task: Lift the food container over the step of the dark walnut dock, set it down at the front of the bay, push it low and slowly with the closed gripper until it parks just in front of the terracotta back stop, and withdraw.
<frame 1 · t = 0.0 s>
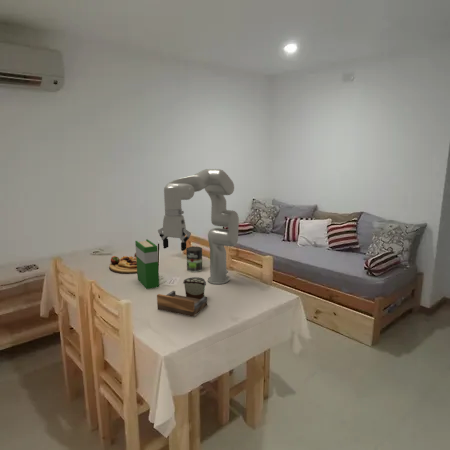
hand: (174, 248, 168), 31 cm above the table, tool pointing down, fingers open, 9 cm apart
coffee can: (194, 269, 234), on the table
wooden plate with food: (134, 266, 243), on the table
hardback book: (148, 283, 212), on the table
food container: (196, 297, 191), on the table
dock: (182, 307, 179), on the table
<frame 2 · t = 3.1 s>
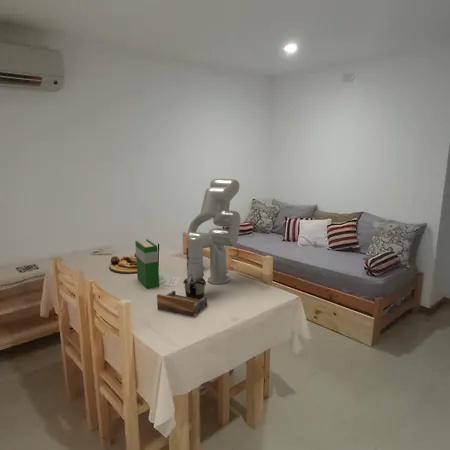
hand: (196, 292, 190), 3 cm above the table, tool pointing down, fingers open, 6 cm apart
food container: (196, 297, 191), on the table, touching gripper
everything else where it was.
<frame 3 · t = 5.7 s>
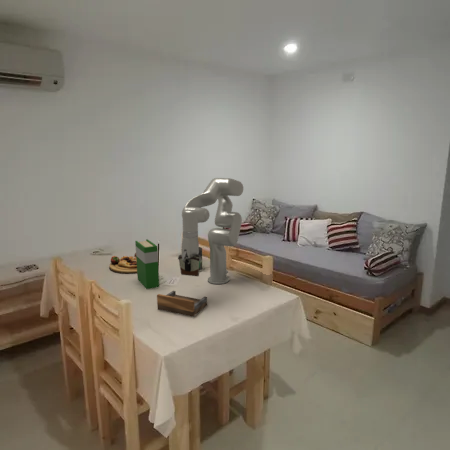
hand: (191, 268, 183), 17 cm above the table, tool pointing down, fingers closed on food container, 5 cm apart
food container: (192, 273, 184), point 14 cm above the table, touching gripper
everything else where it was.
when the fingers open (7 cm above the table, at t = 8.3 s): food container drops 1 cm, resting on dock.
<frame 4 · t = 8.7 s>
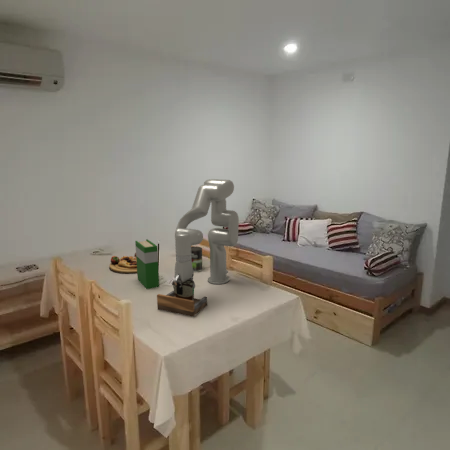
hand: (184, 290, 179), 8 cm above the table, tool pointing down, fingers open, 9 cm apart
food container: (187, 298, 182), point 3 cm above the table, touching dock, gripper
everything else where it was.
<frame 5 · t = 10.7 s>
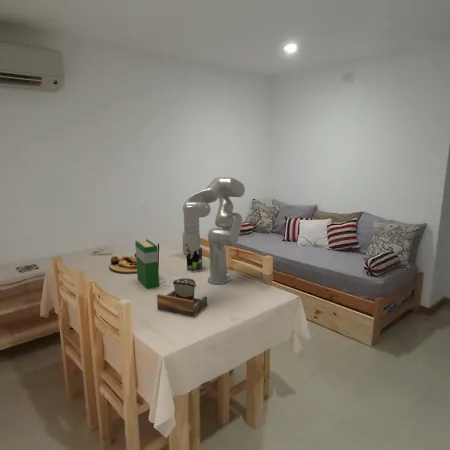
hand: (192, 263, 184), 19 cm above the table, tool pointing down, fingers open, 5 cm apart
food container: (187, 299, 182), point 2 cm above the table, touching dock
everything else where it was.
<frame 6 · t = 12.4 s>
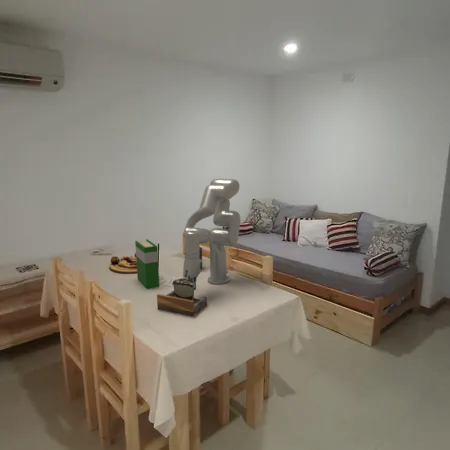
hand: (192, 289, 186), 6 cm above the table, tool pointing down, fingers closed
food container: (187, 299, 182), point 2 cm above the table, touching dock, gripper
everything else where it was.
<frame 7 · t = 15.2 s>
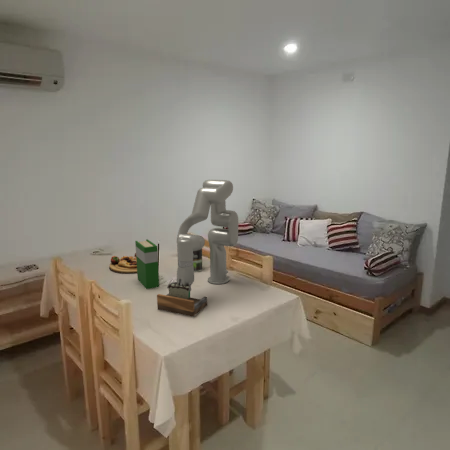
hand: (186, 297, 182), 3 cm above the table, tool pointing down, fingers closed
food container: (182, 303, 178), point 2 cm above the table, touching dock, gripper
everything else where it was.
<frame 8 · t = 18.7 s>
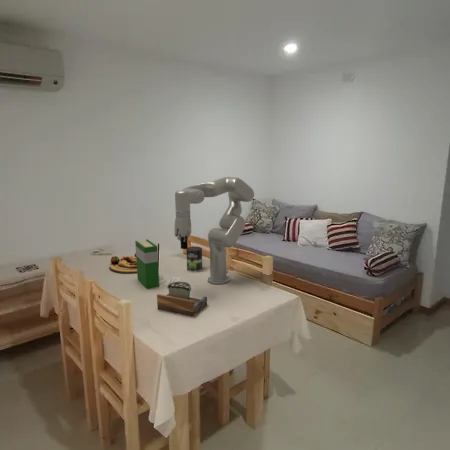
hand: (184, 248, 191), 25 cm above the table, tool pointing down, fingers closed
food container: (182, 303, 178), point 2 cm above the table, touching dock
everything else where it was.
at the end: food container 1.5 cm from the target spot on the dock, point 2.3 cm above the dock's base; food container tilted 0°; the gripper is holding nothing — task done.
